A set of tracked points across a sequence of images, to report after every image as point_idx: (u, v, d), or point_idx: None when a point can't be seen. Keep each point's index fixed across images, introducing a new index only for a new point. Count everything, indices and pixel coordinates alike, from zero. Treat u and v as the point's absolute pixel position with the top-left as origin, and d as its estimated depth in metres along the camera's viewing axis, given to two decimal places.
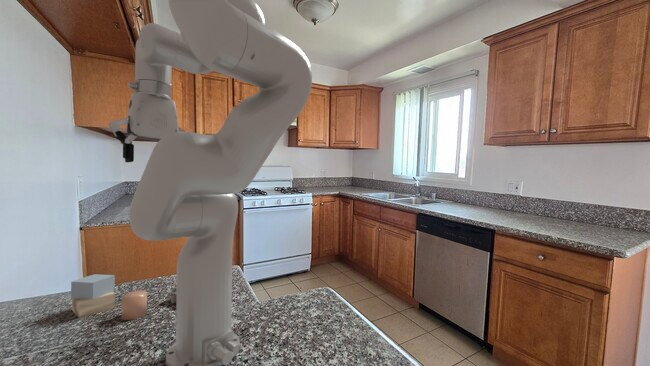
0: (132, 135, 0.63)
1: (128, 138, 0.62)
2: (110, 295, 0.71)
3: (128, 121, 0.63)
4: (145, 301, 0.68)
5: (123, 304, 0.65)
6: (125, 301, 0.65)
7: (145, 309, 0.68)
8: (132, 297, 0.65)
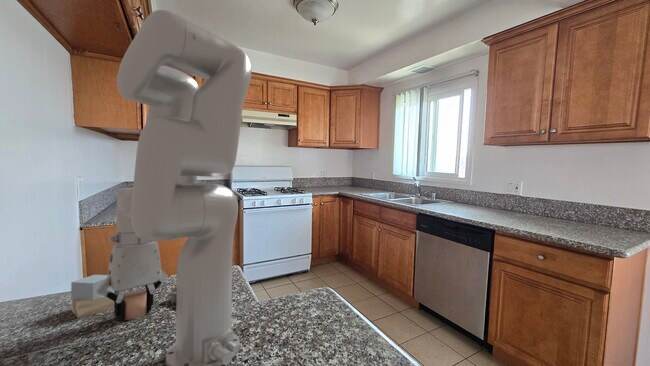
0: (120, 293, 0.64)
1: (118, 298, 0.64)
2: None
3: (109, 277, 0.63)
4: (145, 301, 0.68)
5: None
6: (125, 300, 0.65)
7: (145, 309, 0.68)
8: (132, 297, 0.65)
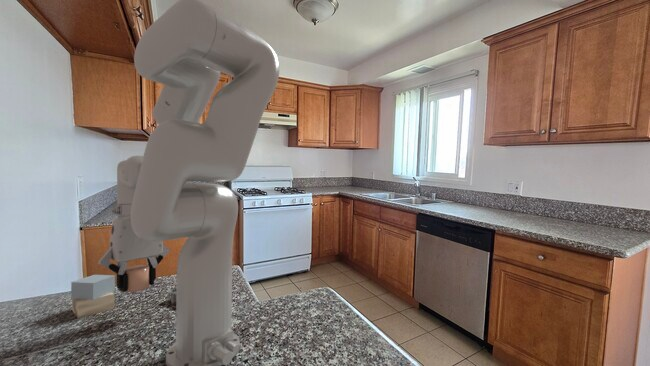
0: (122, 265, 0.64)
1: (120, 269, 0.63)
2: (109, 295, 0.70)
3: (110, 248, 0.63)
4: (147, 274, 0.67)
5: None
6: (128, 273, 0.65)
7: (148, 282, 0.67)
8: (134, 269, 0.65)
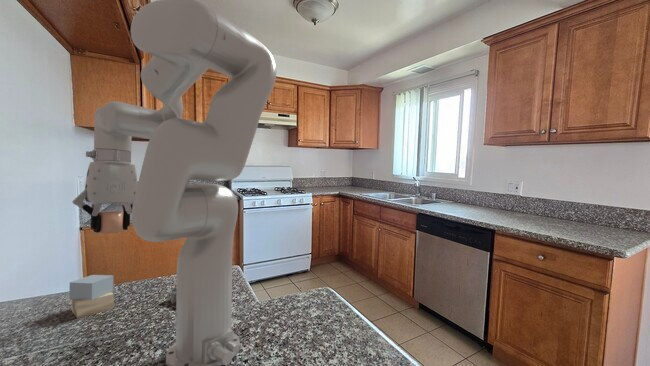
0: (96, 207, 0.66)
1: (94, 211, 0.66)
2: (109, 296, 0.70)
3: (85, 190, 0.65)
4: (121, 219, 0.70)
5: None
6: (101, 215, 0.67)
7: (121, 226, 0.70)
8: (108, 212, 0.68)
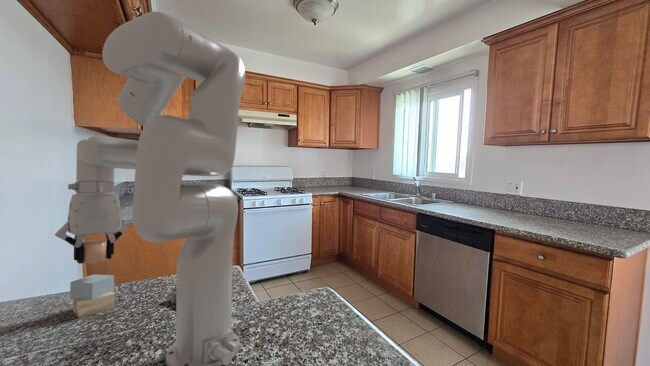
0: (79, 238, 0.67)
1: (77, 242, 0.67)
2: (110, 295, 0.70)
3: (67, 222, 0.66)
4: (104, 248, 0.71)
5: None
6: (84, 245, 0.68)
7: (104, 256, 0.71)
8: (90, 243, 0.69)
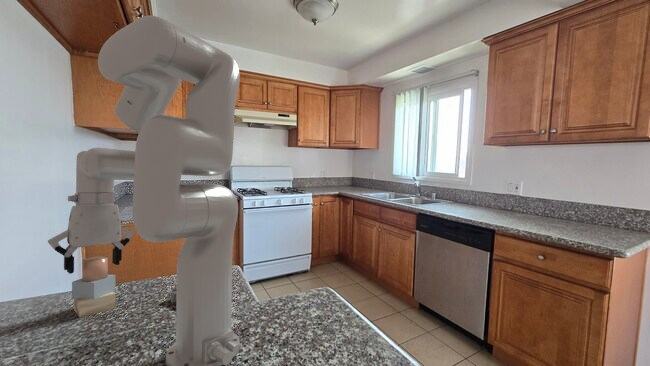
0: (72, 248, 0.66)
1: (68, 252, 0.66)
2: (111, 295, 0.71)
3: (67, 234, 0.66)
4: (106, 265, 0.71)
5: (83, 267, 0.69)
6: (86, 263, 0.68)
7: (106, 273, 0.71)
8: (92, 260, 0.69)
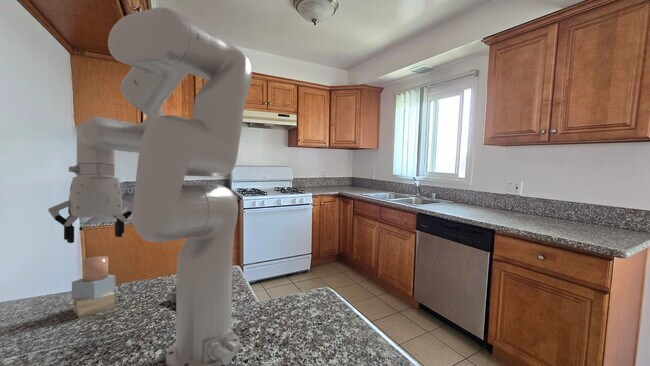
0: (72, 217, 0.66)
1: (68, 221, 0.66)
2: (110, 295, 0.70)
3: (68, 204, 0.66)
4: (106, 265, 0.71)
5: (84, 267, 0.68)
6: (86, 263, 0.68)
7: (106, 273, 0.71)
8: (92, 260, 0.69)
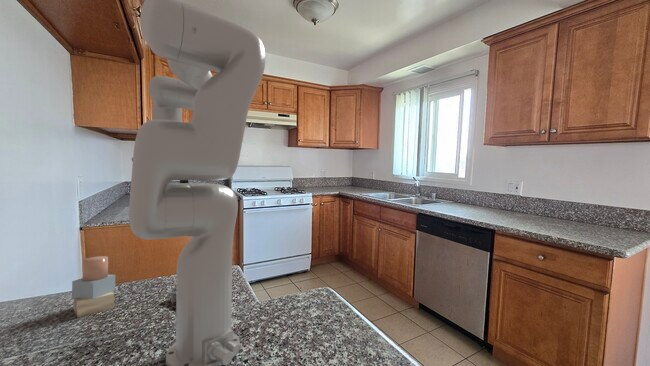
0: None
1: None
2: (109, 295, 0.70)
3: None
4: (105, 265, 0.71)
5: (83, 266, 0.69)
6: (85, 263, 0.69)
7: (105, 272, 0.71)
8: (91, 260, 0.69)
